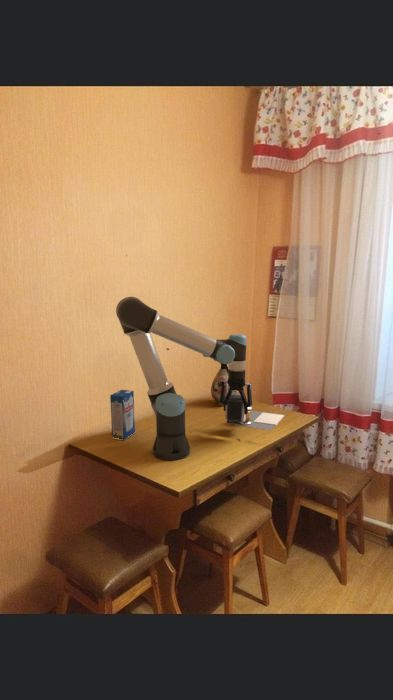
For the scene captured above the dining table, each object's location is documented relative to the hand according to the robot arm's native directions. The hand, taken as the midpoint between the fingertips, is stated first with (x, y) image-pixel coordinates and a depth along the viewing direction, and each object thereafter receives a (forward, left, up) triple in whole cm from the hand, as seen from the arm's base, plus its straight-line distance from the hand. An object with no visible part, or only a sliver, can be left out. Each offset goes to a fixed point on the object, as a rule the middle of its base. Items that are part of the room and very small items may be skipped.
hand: (235, 419), depth 193 cm
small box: (0, 0, -1) cm, 1 cm away
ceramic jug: (-21, +42, -7) cm, 48 cm away
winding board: (+5, +20, -7) cm, 22 cm away
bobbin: (0, +13, -6) cm, 14 cm away
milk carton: (-45, -22, -7) cm, 51 cm away
